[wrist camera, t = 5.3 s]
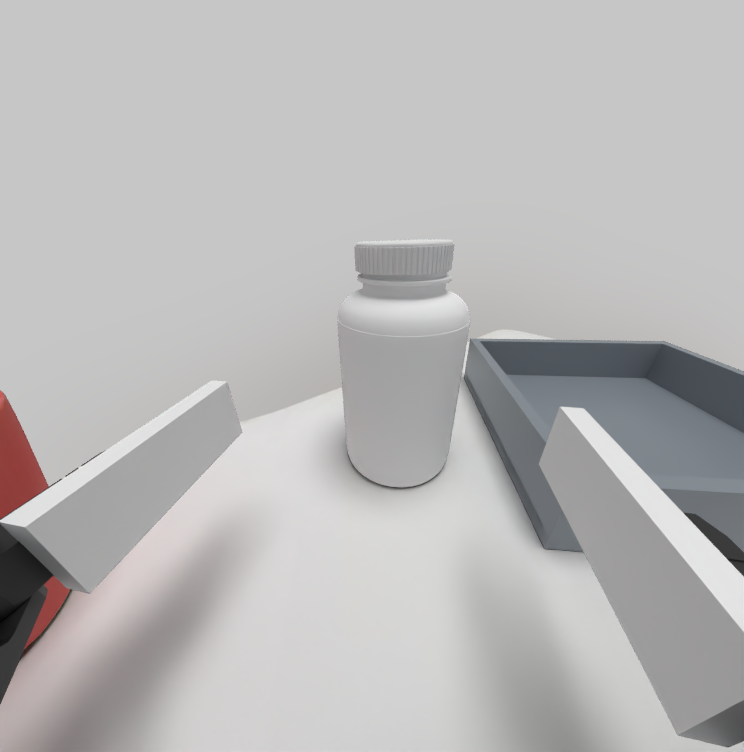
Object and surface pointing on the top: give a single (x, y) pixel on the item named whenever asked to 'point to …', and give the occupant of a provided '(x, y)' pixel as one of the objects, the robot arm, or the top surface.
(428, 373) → the pill bottle
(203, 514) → the top surface
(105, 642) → the top surface
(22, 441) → the flower pot
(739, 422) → the tray
